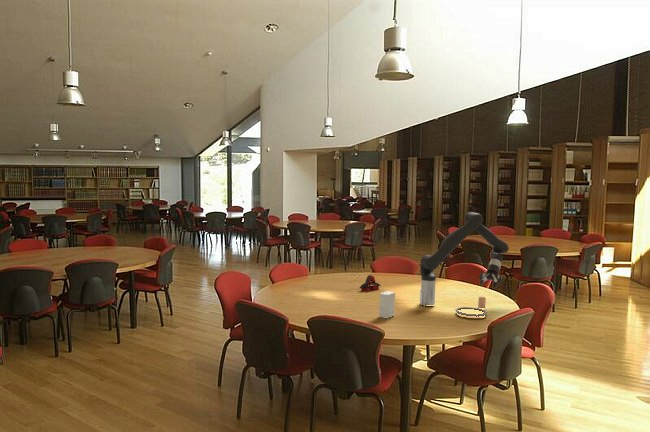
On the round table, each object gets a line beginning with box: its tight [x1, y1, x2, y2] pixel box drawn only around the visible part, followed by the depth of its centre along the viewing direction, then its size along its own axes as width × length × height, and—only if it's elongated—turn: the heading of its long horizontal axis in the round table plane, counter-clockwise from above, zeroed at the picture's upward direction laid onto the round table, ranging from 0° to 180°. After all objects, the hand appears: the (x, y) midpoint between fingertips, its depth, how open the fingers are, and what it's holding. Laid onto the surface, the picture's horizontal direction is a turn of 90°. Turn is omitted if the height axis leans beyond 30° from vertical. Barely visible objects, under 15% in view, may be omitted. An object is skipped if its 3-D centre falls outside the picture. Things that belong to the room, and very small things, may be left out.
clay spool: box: [477, 296, 487, 309], centre depth 328 cm, size 4×4×8 cm
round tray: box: [455, 306, 488, 317], centre depth 317 cm, size 18×18×3 cm
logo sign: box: [359, 274, 382, 292], centre depth 378 cm, size 18×4×11 cm, turn 124°
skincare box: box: [378, 290, 396, 319], centre depth 308 cm, size 8×6×15 cm
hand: (487, 286), depth 336 cm, fingers open, 8 cm apart
